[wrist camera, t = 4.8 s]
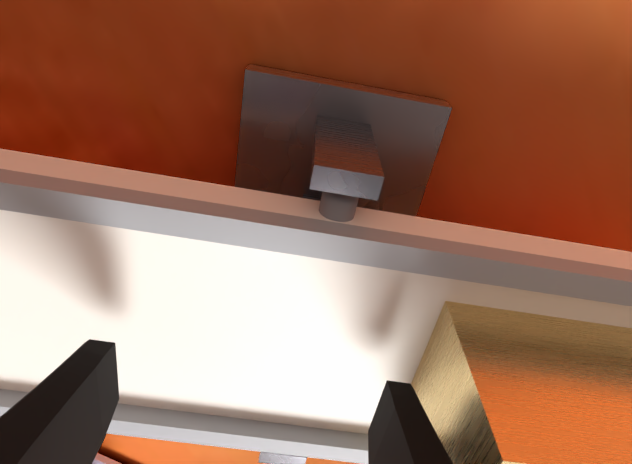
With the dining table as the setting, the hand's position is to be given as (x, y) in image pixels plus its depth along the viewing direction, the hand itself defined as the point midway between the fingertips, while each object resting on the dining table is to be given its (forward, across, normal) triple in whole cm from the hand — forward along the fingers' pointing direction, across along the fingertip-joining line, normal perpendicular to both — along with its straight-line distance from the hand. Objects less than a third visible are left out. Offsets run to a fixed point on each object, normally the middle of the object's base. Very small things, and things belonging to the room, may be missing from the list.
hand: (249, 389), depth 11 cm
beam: (+2, -1, 0) cm, 3 cm away
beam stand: (+6, -1, 0) cm, 6 cm away
